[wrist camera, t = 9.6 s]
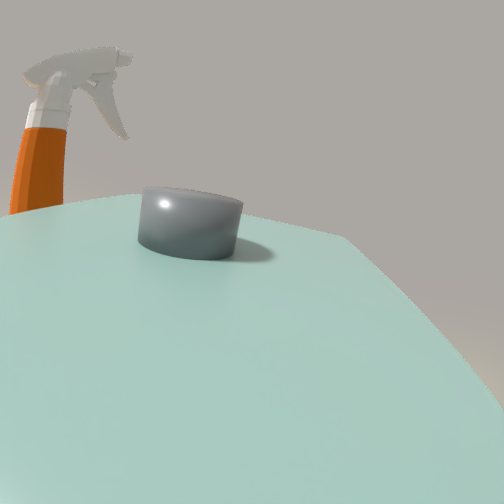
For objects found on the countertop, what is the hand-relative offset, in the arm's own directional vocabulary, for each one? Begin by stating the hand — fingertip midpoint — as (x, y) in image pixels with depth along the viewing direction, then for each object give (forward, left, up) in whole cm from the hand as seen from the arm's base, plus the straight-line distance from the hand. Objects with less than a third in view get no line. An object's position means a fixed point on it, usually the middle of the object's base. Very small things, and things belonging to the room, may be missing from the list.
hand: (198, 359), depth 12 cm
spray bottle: (+14, -5, -9) cm, 17 cm away
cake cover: (0, +4, -8) cm, 9 cm away
